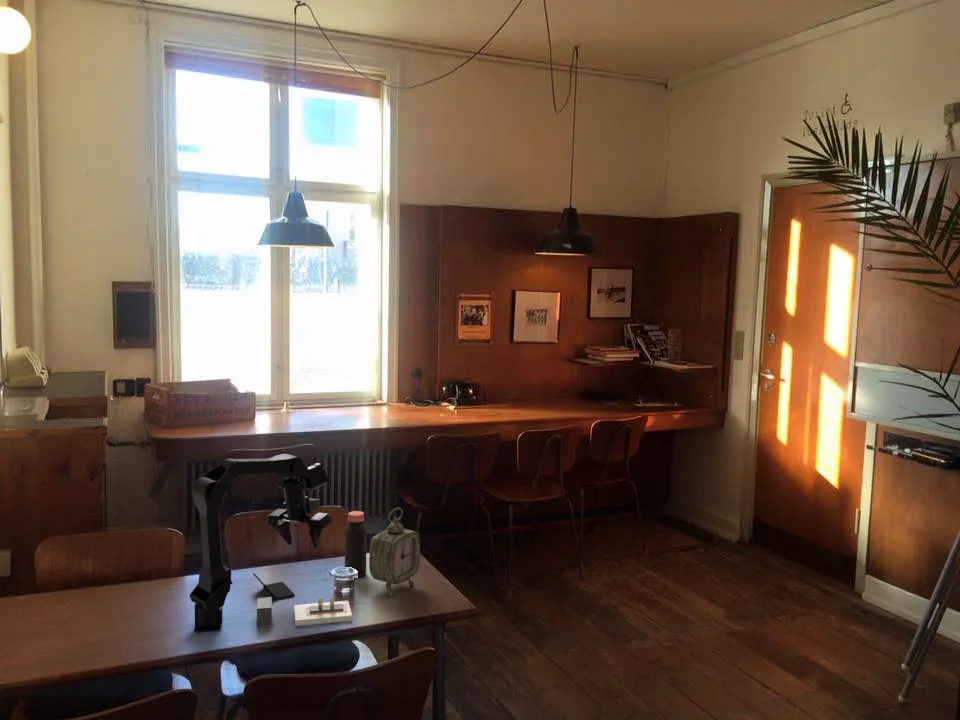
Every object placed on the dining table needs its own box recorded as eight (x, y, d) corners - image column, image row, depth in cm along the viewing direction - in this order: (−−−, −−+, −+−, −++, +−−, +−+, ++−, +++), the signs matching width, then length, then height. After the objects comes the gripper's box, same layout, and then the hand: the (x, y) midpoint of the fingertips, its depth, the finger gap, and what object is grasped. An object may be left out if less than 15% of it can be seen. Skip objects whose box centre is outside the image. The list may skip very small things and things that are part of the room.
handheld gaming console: (301, 589, 227) (280, 567, 223) (284, 609, 223) (262, 587, 219) (282, 582, 236) (262, 561, 232) (266, 602, 232) (245, 580, 228)
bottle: (349, 580, 238) (350, 517, 236) (341, 573, 244) (341, 511, 242) (369, 576, 242) (370, 514, 240) (360, 569, 248) (361, 508, 246)
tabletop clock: (391, 600, 225) (392, 516, 222) (366, 593, 229) (367, 511, 227) (419, 584, 237) (420, 504, 235) (395, 577, 242) (396, 499, 239)
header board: (295, 625, 207) (295, 608, 206) (294, 610, 216) (294, 593, 216) (351, 620, 211) (352, 603, 210) (348, 605, 220) (348, 589, 220)
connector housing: (271, 625, 206) (271, 607, 206) (256, 626, 205) (256, 608, 205) (271, 614, 213) (271, 597, 213) (257, 615, 212) (257, 598, 212)
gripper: (337, 487, 226) (345, 536, 229) (285, 483, 233) (293, 530, 237) (316, 503, 216) (324, 554, 219) (262, 498, 223) (270, 547, 227)
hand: (303, 546), depth 226 cm, fingers open, 9 cm apart
